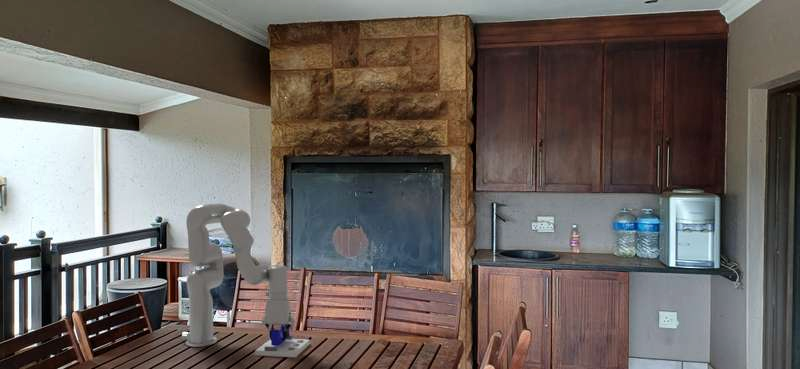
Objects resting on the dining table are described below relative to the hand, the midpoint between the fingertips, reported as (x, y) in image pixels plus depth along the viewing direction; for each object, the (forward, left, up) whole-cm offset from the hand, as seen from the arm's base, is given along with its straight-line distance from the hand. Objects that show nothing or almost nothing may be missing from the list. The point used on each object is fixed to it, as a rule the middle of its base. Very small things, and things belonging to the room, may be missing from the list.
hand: (278, 339), depth 223 cm
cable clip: (0, 0, -1) cm, 1 cm away
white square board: (+2, 0, -4) cm, 5 cm away
